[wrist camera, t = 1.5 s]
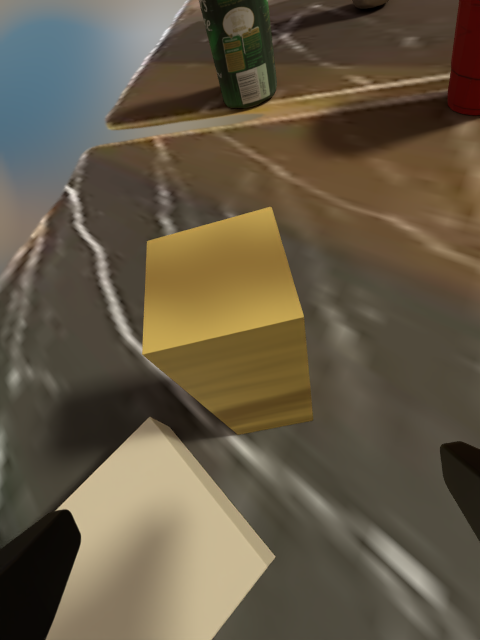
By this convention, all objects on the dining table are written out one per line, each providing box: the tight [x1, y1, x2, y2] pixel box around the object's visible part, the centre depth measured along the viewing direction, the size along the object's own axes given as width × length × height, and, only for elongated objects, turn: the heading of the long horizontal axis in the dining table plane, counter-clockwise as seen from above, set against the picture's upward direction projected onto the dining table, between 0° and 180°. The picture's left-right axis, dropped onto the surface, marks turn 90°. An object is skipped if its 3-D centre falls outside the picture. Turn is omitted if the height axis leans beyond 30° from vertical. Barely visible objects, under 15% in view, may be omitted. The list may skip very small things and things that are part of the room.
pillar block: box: [142, 207, 313, 435], centre depth 16 cm, size 5×5×13 cm
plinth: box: [46, 417, 275, 640], centre depth 17 cm, size 10×10×3 cm
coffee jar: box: [199, 0, 277, 108], centre depth 36 cm, size 10×8×19 cm
